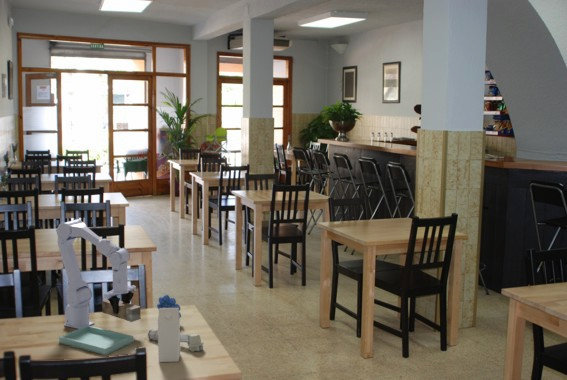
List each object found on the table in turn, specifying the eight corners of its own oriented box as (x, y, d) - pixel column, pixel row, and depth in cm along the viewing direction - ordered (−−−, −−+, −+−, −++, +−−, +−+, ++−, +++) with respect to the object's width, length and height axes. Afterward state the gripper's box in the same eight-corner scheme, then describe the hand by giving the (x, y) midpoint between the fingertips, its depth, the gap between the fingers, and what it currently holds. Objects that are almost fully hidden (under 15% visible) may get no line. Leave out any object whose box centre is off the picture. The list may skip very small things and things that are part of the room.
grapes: (151, 323, 267) (151, 296, 266) (161, 318, 274) (160, 291, 272) (174, 327, 263) (174, 299, 261) (183, 322, 269) (183, 295, 267)
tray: (59, 343, 245) (59, 337, 245) (88, 331, 258) (88, 325, 258) (105, 355, 234) (105, 348, 233) (133, 342, 247) (133, 336, 246)
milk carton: (160, 354, 235) (159, 305, 232) (180, 354, 235) (179, 304, 233) (158, 362, 228) (157, 311, 225) (178, 362, 228) (177, 311, 226)
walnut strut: (102, 312, 260) (102, 300, 260) (111, 309, 264) (111, 297, 263) (131, 322, 250) (131, 309, 249) (140, 318, 254) (140, 306, 253)
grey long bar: (155, 327, 253) (204, 330, 240) (157, 343, 253) (206, 347, 240) (146, 331, 248) (196, 334, 236) (148, 347, 249) (198, 352, 236)
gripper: (112, 284, 247) (112, 318, 249) (140, 276, 258) (141, 309, 260) (100, 281, 251) (101, 314, 253) (129, 274, 262) (130, 305, 264)
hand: (120, 311), depth 257 cm, fingers closed on walnut strut, 4 cm apart
